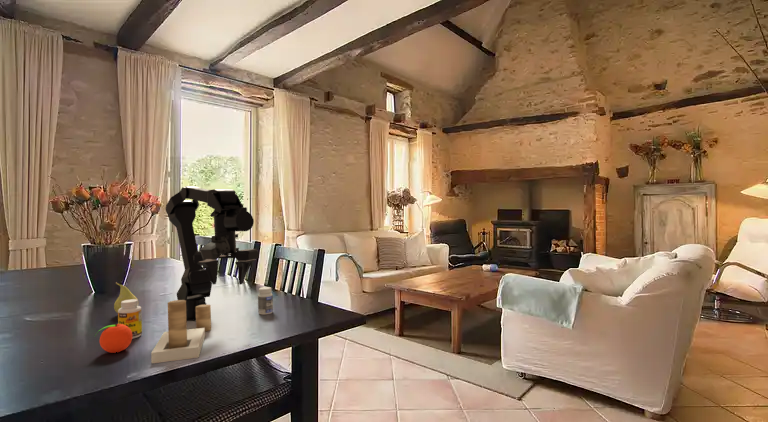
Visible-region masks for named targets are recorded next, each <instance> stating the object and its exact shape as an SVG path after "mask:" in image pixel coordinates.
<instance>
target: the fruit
mask: <svg viewBox="0 0 768 422" xmlns="http://www.w3.org/2000/svg"><path fill="white" fill-rule="evenodd" d="M115 285H118V286H119V288H120V290H119V291H120V292H119V295H118V297H117V298H116V299H115V302H114V304H113V308H114V309H113V310H114V311H115V312H116V314H118V310H119V309H120V308H121V302H122V301H124V300H130V299H137V300H138V305H139V298H137V297H136V296H135V295H134V294H133V293H132V292H131V290H129V288H128V287H127V286H125V285H123V284H120V283H118V282H117V281H116V282H115Z"/></svg>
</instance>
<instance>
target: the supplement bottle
mask: <svg viewBox="0 0 768 422" xmlns="http://www.w3.org/2000/svg"><path fill="white" fill-rule="evenodd" d="M137 299H138V298H137ZM137 299H130V300H124V301H122V302H121V308H120V309H119V310H118V313H117V322H118V323H117V324H123V325H126V326H127V327H129V328H130V329H131V331H132V340H133V339H134V340H135V339H136V338H139V337H141V336H142V334H143V320H142V319H143V318H142V315H143V314H142V306H140V305H139V304H138V302H139V299H138V300H137Z"/></svg>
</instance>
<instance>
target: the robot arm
mask: <svg viewBox="0 0 768 422" xmlns="http://www.w3.org/2000/svg"><path fill="white" fill-rule="evenodd" d="M199 202H202V203H206V205H207V206H208V207H209V208H211V209H213V212H211V213H210V215H209V217H211V218H213V225H214V226H213V227H214V231H213V232H214V235H211V238H210V242H208V243H206V244H205V245H204V246H202V247H200V248H199V250H198V245H197V243H198V242H197V240H196V234H195V230H194V224H193V223H194V221H195V219H196V216H197V214H196V213H197V212H196V211H197V210H198V208H199V206H200V203H199ZM165 212H166V214H167V217H168V221H169V222H170V223H171V224H172V225H173V226H174V227H175V228H176V232H177V233H176V234H177V237H178V241H179V246H180V252H181V257H182V262H183V267H184V272H183V274H182V276H181V280H180V282H181V285H180V287H179V289H178V290H177V292H176V300H186V321H196V306H199V305H207V302H206V298H208V297H209V298H210V297H211V293H212V286H213V285H216V284H217V281H218V272H219V271H218V269H219V259H235V260H236V261H235V262H234V263H235V265H236V266H237V275H238V284H239V285H240V286H241V285H243V284H244V281H245V280H246V279H245V278H246V277H247V274H248V272H249V269H250V267H251V265H252V263H254V262H255V261H256V259H260V257H259V250H257V249H256V248H249V249H248V248H247V249H246V248H245V249H240V248H239V247H237V241H236V239H237V238H239V234H237V233H236V232H249V231H250V230H251V229H252V228H253V226H254V223H255V221H254V218H253V216H252V213H250V212H249V211H248V207H244V204H243V203H242V201H241V200H240V198H239V196H238V194H237V191H235V190H234V189H215V188H214V189H207V188H203V187H199V186H193V185H192V186H187V185H186V186H183V187H181V189H180V191H179V192H177V193H175V194H174V195H173V196H171V197H170V198H169V200H168V202H166V205H165Z"/></svg>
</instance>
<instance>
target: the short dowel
mask: <svg viewBox="0 0 768 422" xmlns="http://www.w3.org/2000/svg"><path fill="white" fill-rule="evenodd" d="M211 308H212V307H211V304H206V305H199V306H196V320H195V329H196V328H205V333H206V332H209V331H211V330H212V312H211V311H212V309H211Z"/></svg>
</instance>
